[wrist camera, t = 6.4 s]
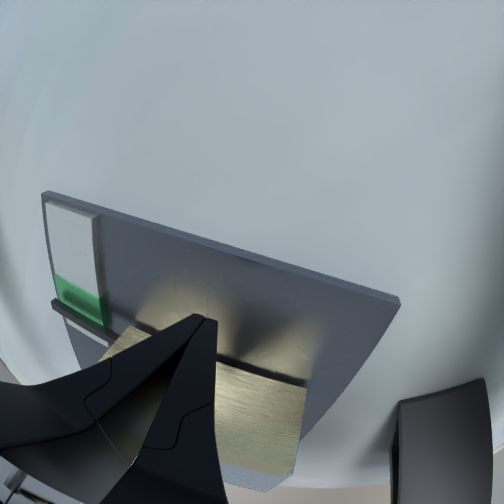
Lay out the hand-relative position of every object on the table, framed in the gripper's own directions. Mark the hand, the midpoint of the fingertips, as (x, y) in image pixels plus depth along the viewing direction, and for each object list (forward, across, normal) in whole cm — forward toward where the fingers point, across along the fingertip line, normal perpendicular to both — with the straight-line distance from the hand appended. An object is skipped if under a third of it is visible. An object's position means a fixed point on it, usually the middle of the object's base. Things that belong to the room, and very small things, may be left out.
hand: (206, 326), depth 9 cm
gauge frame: (+3, +3, +7) cm, 8 cm away
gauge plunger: (+2, +3, +9) cm, 10 cm away
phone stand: (+4, -16, +8) cm, 18 cm away
